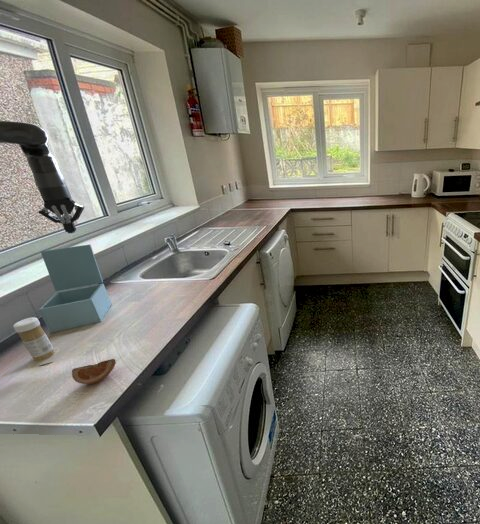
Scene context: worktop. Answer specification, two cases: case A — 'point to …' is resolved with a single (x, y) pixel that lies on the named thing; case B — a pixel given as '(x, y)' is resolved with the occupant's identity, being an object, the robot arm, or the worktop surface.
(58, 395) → the worktop surface
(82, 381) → the fruit slice
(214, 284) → the worktop surface
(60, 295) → the chest
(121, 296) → the worktop surface
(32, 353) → the sprinkles bottle
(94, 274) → the lid
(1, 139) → the robot arm
